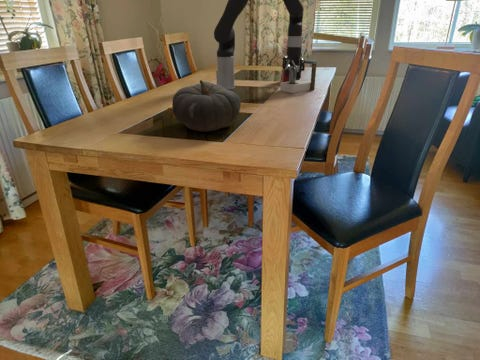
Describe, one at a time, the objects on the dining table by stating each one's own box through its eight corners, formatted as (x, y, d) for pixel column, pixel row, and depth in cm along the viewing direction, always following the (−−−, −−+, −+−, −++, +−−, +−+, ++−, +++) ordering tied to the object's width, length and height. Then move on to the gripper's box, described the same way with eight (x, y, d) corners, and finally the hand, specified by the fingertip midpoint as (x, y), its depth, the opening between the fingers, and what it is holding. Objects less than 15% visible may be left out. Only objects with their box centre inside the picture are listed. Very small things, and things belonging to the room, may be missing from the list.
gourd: (207, 106, 143) (207, 65, 132) (253, 126, 131) (257, 83, 120) (161, 126, 127) (156, 82, 117) (208, 151, 115) (208, 103, 104)
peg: (296, 90, 182) (297, 67, 177) (291, 91, 180) (292, 68, 175) (292, 89, 184) (292, 67, 179) (287, 90, 183) (288, 67, 177)
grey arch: (309, 91, 180) (311, 61, 174) (291, 87, 191) (292, 59, 184) (314, 90, 182) (316, 60, 176) (296, 86, 193) (298, 58, 186)
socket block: (293, 93, 177) (293, 85, 175) (280, 90, 184) (280, 82, 182) (310, 89, 183) (311, 82, 182) (297, 87, 191) (297, 80, 189)
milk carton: (294, 81, 207) (296, 46, 199) (295, 84, 199) (297, 48, 190) (280, 81, 208) (281, 46, 199) (280, 84, 200) (281, 48, 191)
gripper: (279, 45, 175) (278, 77, 183) (298, 47, 165) (297, 80, 172) (290, 44, 179) (288, 75, 187) (309, 46, 169) (307, 79, 176)
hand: (292, 78), depth 179 cm, fingers open, 8 cm apart
